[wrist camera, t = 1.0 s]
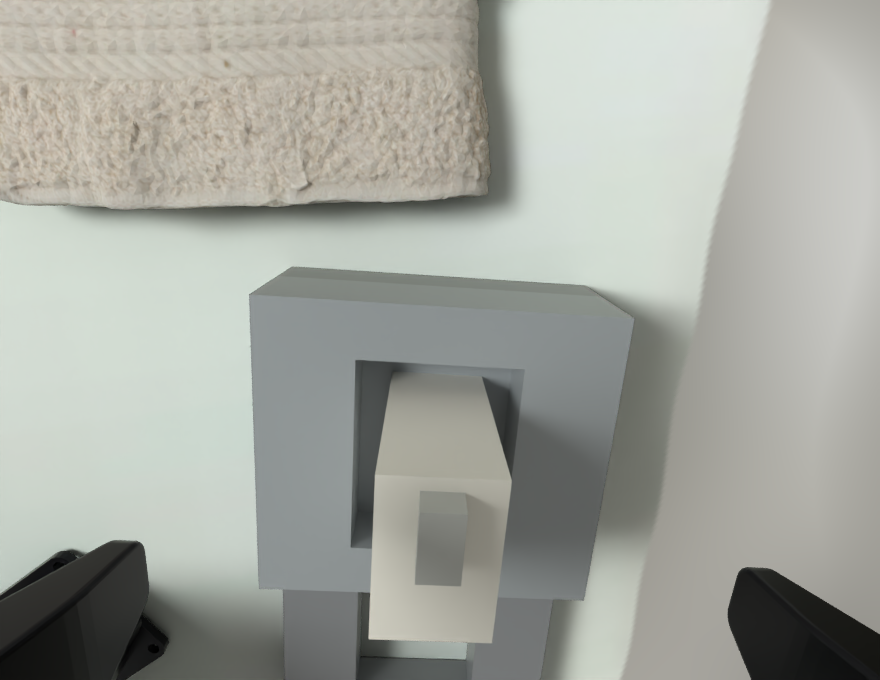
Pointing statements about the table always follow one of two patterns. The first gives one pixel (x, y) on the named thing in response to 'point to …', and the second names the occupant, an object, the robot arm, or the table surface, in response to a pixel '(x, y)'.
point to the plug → (438, 512)
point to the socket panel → (359, 435)
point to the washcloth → (240, 102)
